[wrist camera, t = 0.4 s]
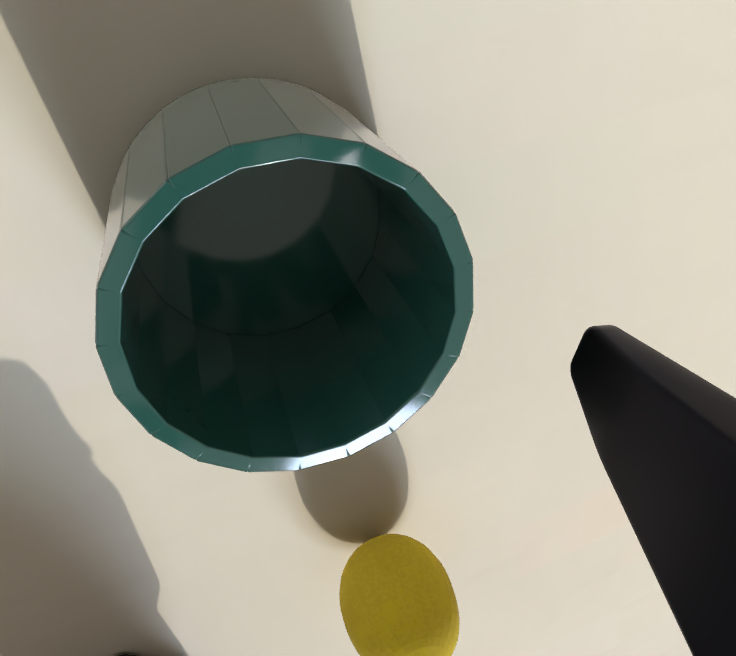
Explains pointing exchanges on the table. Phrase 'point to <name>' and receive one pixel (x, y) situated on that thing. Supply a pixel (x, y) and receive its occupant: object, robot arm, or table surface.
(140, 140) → the cup
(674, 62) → the table surface
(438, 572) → the lemon
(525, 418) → the table surface
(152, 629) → the table surface
